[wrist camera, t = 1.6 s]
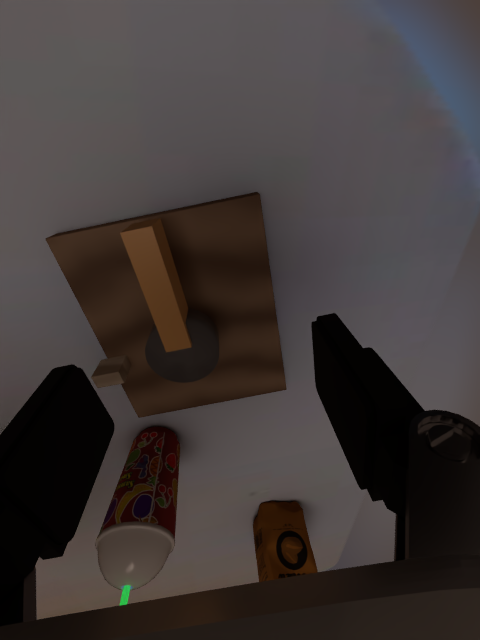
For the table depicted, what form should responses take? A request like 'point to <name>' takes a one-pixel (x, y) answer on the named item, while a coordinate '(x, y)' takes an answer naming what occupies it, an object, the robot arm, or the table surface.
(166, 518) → the smoothie
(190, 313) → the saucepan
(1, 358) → the table surface
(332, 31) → the table surface
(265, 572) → the coffee package
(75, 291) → the wooden board with lever
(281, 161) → the table surface
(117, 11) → the table surface
